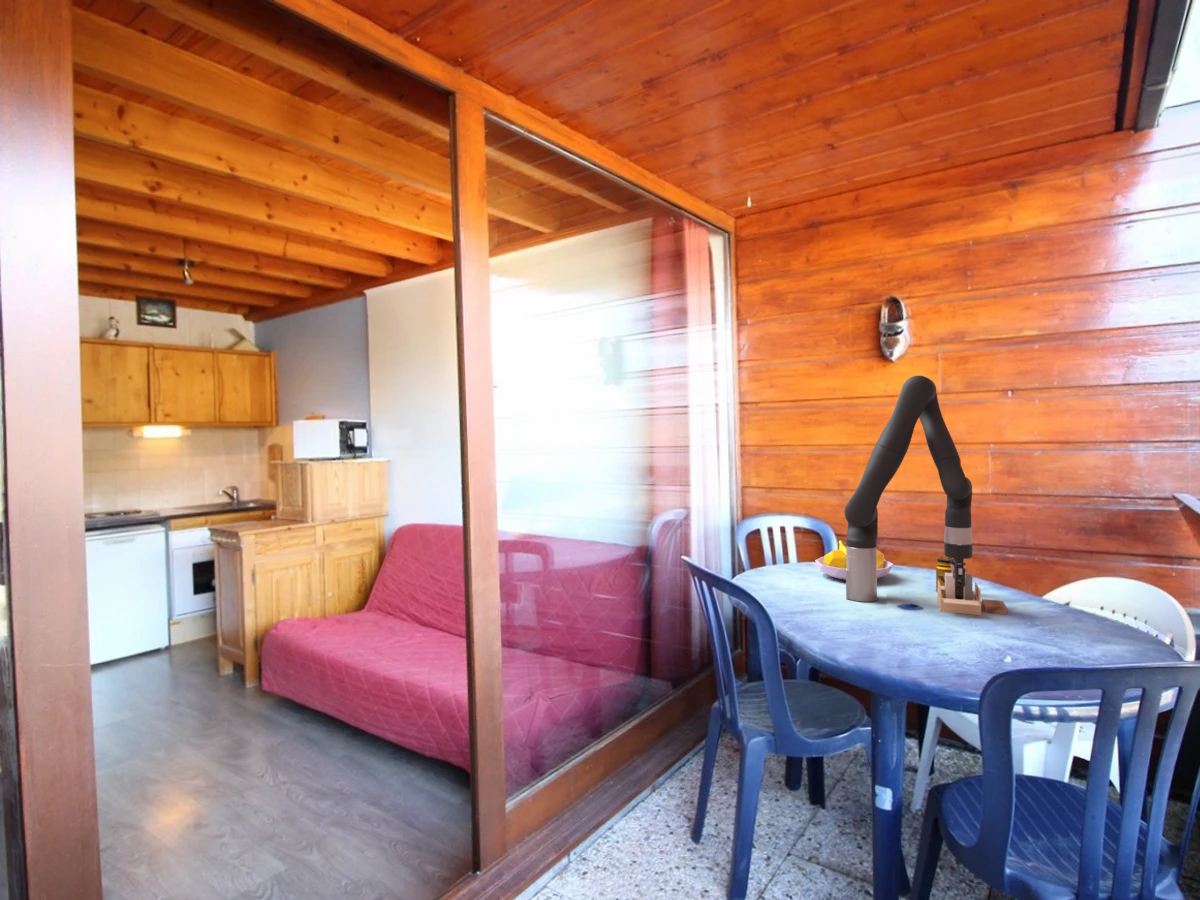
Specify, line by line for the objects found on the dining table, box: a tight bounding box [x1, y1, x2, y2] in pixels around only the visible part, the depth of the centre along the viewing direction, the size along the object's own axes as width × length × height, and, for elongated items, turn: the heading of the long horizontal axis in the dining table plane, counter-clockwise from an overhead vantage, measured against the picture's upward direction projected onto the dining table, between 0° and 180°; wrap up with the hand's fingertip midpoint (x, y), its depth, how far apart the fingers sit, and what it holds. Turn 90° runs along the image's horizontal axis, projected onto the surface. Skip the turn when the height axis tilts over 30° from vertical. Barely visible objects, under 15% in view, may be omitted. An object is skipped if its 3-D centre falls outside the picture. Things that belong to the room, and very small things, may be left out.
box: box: [945, 573, 973, 600], centre depth 197 cm, size 7×4×10 cm, turn 66°
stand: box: [981, 598, 1008, 615], centre depth 194 cm, size 6×8×2 cm
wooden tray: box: [936, 580, 982, 616], centre depth 197 cm, size 11×21×8 cm, turn 156°
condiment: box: [934, 557, 953, 593], centre depth 215 cm, size 7×8×12 cm
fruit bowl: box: [814, 540, 894, 581], centre depth 241 cm, size 28×27×11 cm
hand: (958, 596), depth 197 cm, fingers closed on box, 4 cm apart
